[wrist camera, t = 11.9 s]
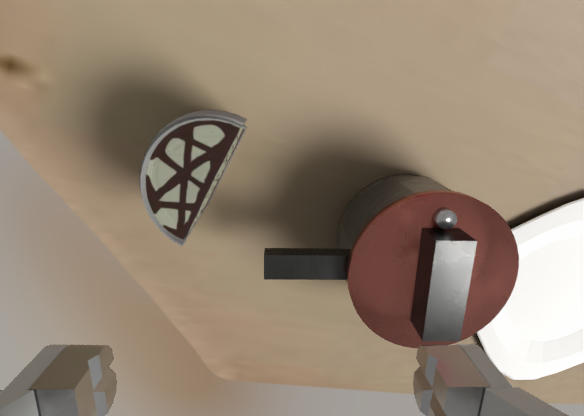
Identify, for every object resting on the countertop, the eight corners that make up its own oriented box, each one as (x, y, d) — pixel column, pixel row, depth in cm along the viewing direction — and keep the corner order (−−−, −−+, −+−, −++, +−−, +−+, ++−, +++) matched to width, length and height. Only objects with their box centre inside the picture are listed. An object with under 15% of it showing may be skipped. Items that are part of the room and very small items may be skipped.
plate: (439, 254, 44) (446, 260, 42) (620, 170, 42) (634, 173, 40) (497, 386, 50) (504, 396, 48) (658, 319, 47) (672, 327, 46)
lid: (351, 188, 31) (362, 202, 27) (525, 190, 32) (560, 204, 28) (342, 340, 36) (349, 371, 32) (495, 340, 36) (522, 370, 32)
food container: (198, 84, 37) (170, 79, 28) (253, 114, 38) (244, 120, 29) (150, 189, 40) (109, 218, 31) (202, 215, 41) (179, 251, 32)
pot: (267, 172, 40) (263, 193, 31) (468, 175, 41) (519, 196, 32) (267, 289, 44) (264, 336, 35) (450, 289, 45) (491, 335, 36)
